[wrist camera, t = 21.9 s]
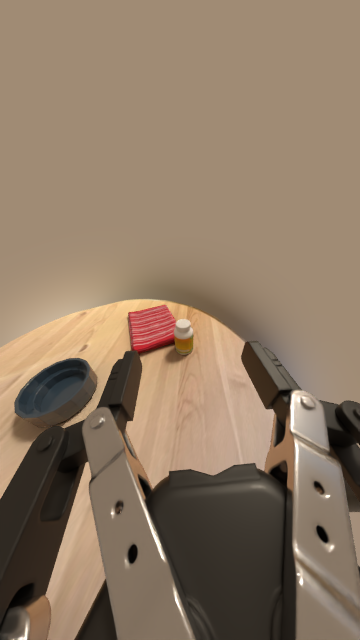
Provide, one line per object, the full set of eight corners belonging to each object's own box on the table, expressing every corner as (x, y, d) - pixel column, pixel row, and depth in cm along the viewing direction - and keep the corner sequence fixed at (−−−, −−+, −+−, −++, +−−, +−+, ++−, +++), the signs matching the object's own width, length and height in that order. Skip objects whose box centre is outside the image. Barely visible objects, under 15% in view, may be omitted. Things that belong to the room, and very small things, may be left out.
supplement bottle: (193, 355, 41) (193, 329, 35) (175, 355, 41) (172, 330, 35) (192, 341, 45) (192, 317, 39) (175, 342, 45) (173, 317, 39)
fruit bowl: (99, 363, 40) (91, 351, 37) (96, 409, 30) (86, 398, 27) (43, 381, 36) (30, 370, 33) (20, 441, 26) (-2, 432, 23)
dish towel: (133, 358, 41) (130, 351, 39) (128, 316, 59) (126, 311, 58) (187, 341, 45) (186, 335, 44) (166, 307, 63) (166, 302, 62)
